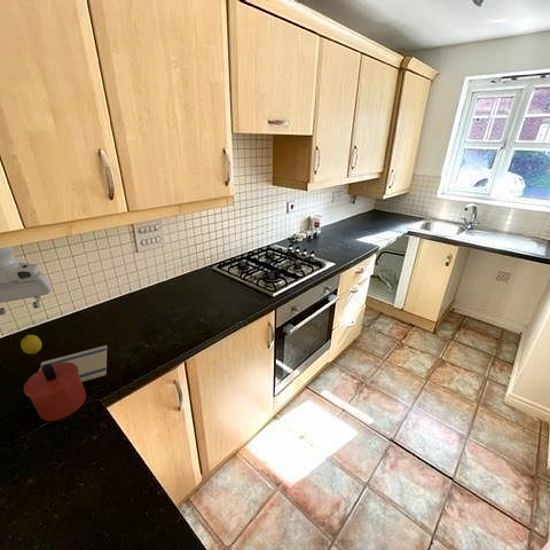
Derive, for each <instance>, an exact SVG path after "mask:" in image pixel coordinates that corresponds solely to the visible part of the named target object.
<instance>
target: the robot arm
mask: <svg viewBox="0 0 550 550" xmlns="http://www.w3.org/2000/svg"><path fill="white" fill-rule="evenodd" d="M51 291H52V286H51V283H50V281H49V279H48V278H47V276H46V275H45V273H44V272H42V271H40V265H39V264H37V263H29V262H28V263H27V262H20V261H18V259H17V257H15V255H14V253H13V246H11V247H8V248H3V249H0V304H4V303H8V302H13V301H18V300H24V299H29V298H33V299H34V300H35V301H33V303H32V306H33V309H40V308H41V303H40V300H41V297H42V296H46V295H49V294H50V292H51ZM6 313H7V310H6V308H5V307H0V316H3V315H6Z"/></svg>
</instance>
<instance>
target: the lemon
mask: <svg viewBox="0 0 550 550" xmlns="http://www.w3.org/2000/svg"><path fill="white" fill-rule="evenodd" d="M42 346H43V343H42V340H41V339H40V338H39V336H37V335H35V334H27V335H25V336H24V337H23V338H22V339H21V340H20V347H21V349H22V351H23V352H24V353H25V354H28V355H36V354H38V352H40V351H41V350H42V348H43V347H42Z"/></svg>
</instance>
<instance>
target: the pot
mask: <svg viewBox="0 0 550 550" xmlns="http://www.w3.org/2000/svg"><path fill="white" fill-rule="evenodd" d="M29 399H30V400H31V402H32V404H33V407H34V408H35V410H36V412H37V414H38V416H39V418H40V419H42V420H43V421H46V422H54V421H58V420H62V419H64V418H67V417H68V416H70V415H72V414H74V413H75V412H77V411H78V410H79V409H80V408H81V407H82V406H83V405H84V403H85V401H86V399H87V392H86V389H85V387H84V384H83V382H81V379H80V377H79V374H78V375H77V377H76V378H75V380H74V381H73V382H72V383H71V384H70V385H68V386H67V387H66V388H64V389H63V390H61V391H59V392H57V393H55V394H52V395H49V396H46V397H41V398H32V397H29Z"/></svg>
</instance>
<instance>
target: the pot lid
mask: <svg viewBox="0 0 550 550" xmlns="http://www.w3.org/2000/svg"><path fill="white" fill-rule="evenodd" d="M77 375H78V367H77V366H76V365H75V364H73V363H69V362H63V363H57V364H53V365H51V364H48V365H45V366H44V367H42V369H41V370H40V371H39V370H38V371H36V372H35V373H34V374H32V375H31V376H30V377H29V378H28V379H27V380H26V382H25V383H24V385H23V393H24V394H25V396H27V397H28V398H30V397H32V398H41V397H46V396H49V395H52V394H55V393H57V392H59V391H61V390H63V389H64V388H66V387H67V386H68V385H70V384H71V383H72V382H73V381H74V380H75V378H76V377H77Z"/></svg>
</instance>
